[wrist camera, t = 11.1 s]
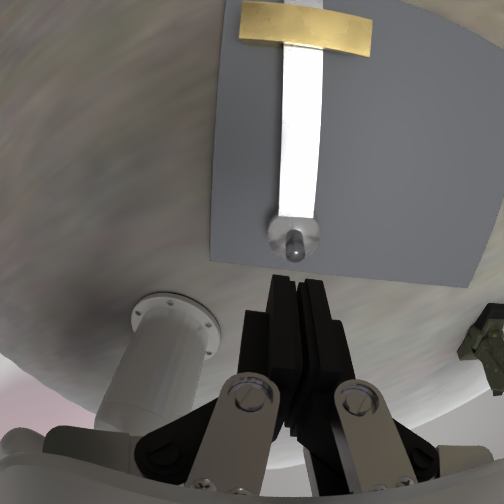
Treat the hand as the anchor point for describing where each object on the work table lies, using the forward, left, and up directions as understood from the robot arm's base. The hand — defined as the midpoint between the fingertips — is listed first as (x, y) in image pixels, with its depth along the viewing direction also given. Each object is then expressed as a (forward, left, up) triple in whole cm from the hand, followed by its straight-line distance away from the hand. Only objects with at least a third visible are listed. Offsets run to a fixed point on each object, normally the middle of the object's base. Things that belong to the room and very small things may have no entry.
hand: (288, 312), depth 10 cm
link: (+4, -1, -19) cm, 19 cm away
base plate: (+4, -10, -20) cm, 23 cm away
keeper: (+13, 0, -19) cm, 23 cm away
